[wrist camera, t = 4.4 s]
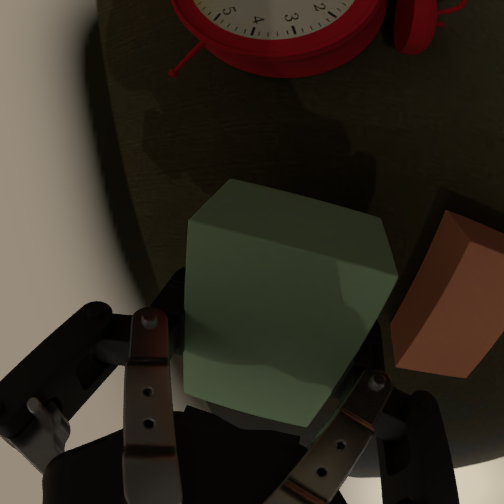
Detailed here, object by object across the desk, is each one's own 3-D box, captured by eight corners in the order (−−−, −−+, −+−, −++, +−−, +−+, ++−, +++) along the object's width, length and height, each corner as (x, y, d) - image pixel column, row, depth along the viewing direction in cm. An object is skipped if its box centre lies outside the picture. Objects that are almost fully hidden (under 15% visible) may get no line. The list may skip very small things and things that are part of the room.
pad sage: (230, 177, 12) (187, 219, 8) (381, 217, 11) (399, 276, 8) (210, 336, 17) (183, 393, 13) (315, 365, 16) (307, 427, 13)
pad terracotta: (445, 209, 15) (470, 240, 12) (513, 237, 14) (541, 270, 11) (389, 324, 20) (394, 367, 16) (454, 338, 19) (465, 378, 16)
